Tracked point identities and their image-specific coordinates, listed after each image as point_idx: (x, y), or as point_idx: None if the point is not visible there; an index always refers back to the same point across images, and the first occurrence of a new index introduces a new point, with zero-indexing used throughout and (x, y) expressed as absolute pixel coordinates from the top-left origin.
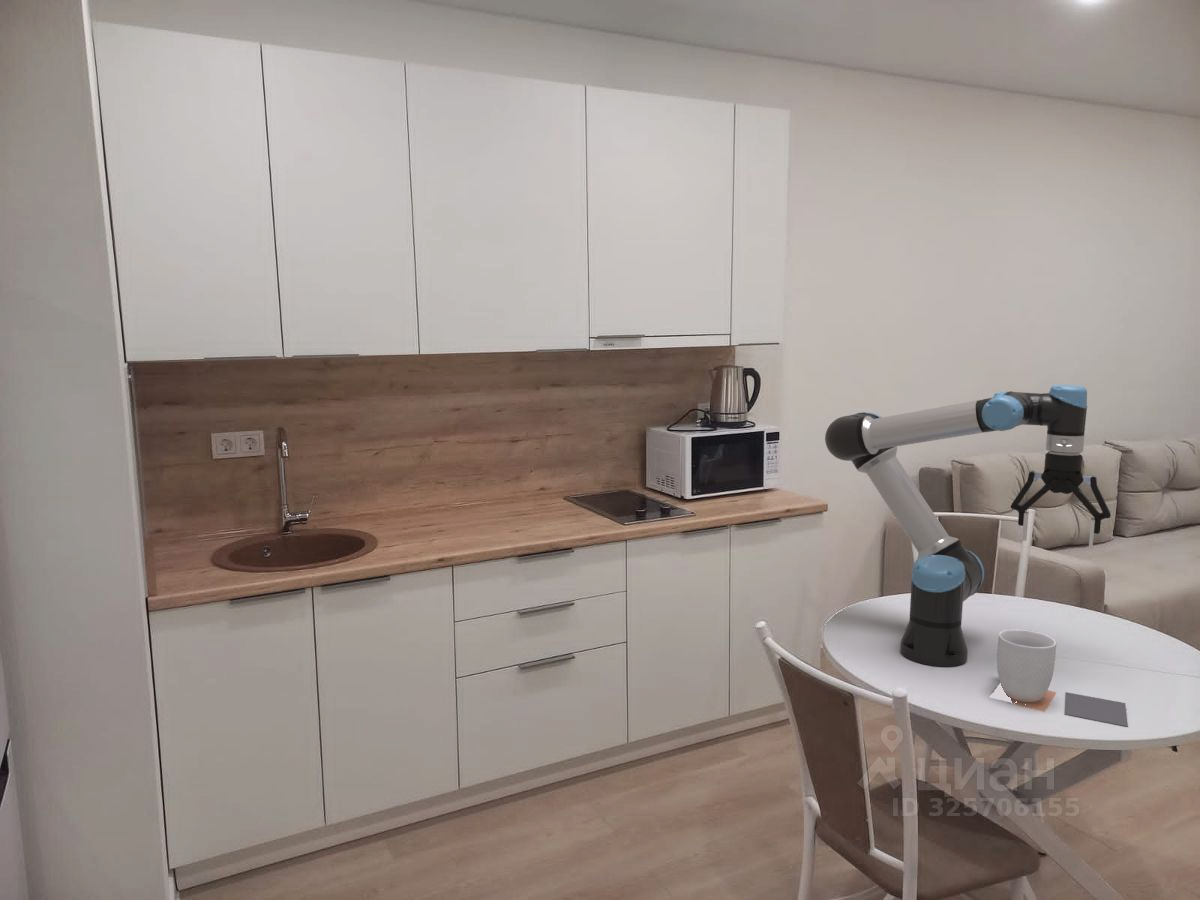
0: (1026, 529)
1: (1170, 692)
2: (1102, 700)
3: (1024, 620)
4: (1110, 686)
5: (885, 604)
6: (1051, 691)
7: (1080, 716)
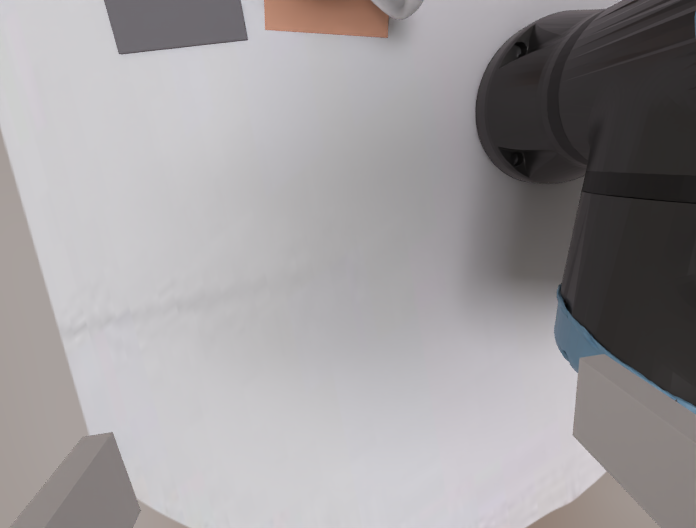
0: (670, 425)
1: (63, 203)
2: (165, 36)
3: (406, 445)
4: (175, 156)
5: None
6: (276, 27)
7: None
